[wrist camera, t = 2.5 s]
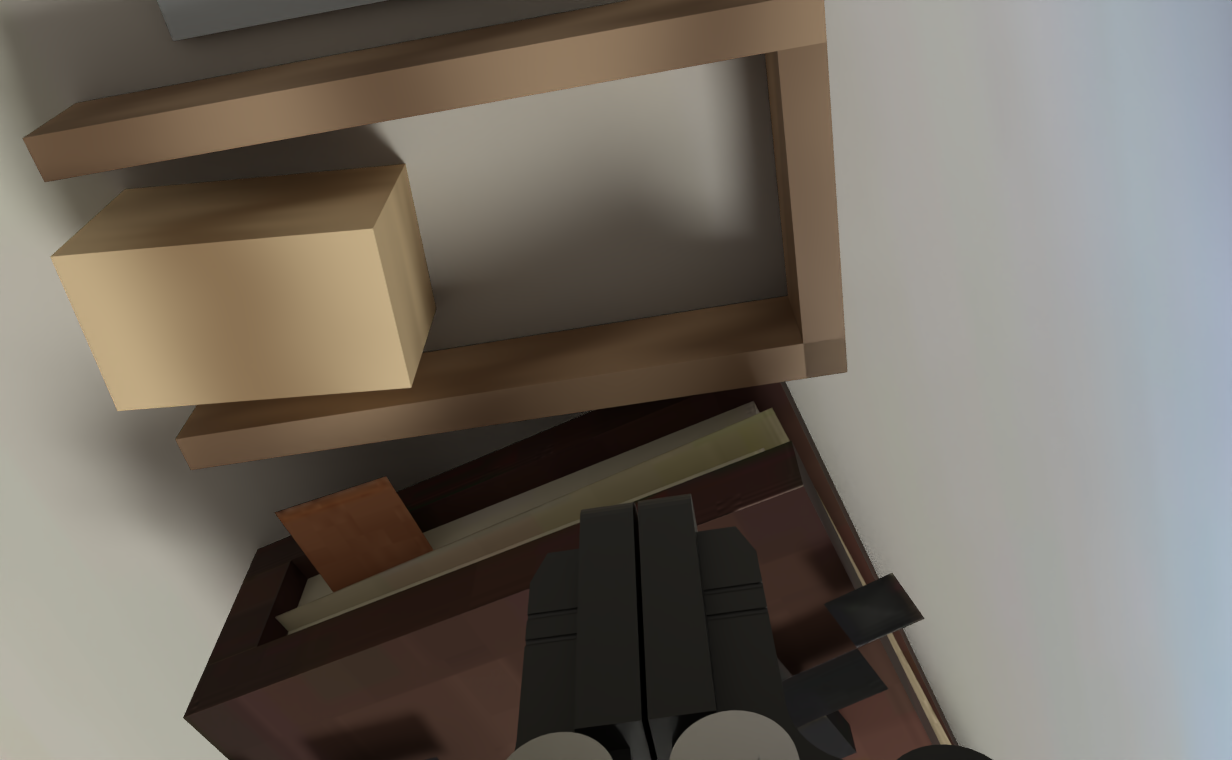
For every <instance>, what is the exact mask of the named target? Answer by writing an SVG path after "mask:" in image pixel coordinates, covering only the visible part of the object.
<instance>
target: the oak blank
mask: <svg viewBox="0 0 1232 760" xmlns="http://www.w3.org/2000/svg"><path fill="white" fill-rule="evenodd" d="M51 259H52V262H53V264H54V266H55V268H56V271H57V273H58V275H59V278H60V280H61V282H62V285H63V287H64V289H65V291H66V294H67V296H68V298H69V301H70V303H71V305H72V308H73V310H74V312H75V314H76V317H77V319H78V321H79V324H80V326H81V328H82V330H83V333H84V335H85V337H86V340H87V342H88V344H89V347H90V349H91V351H92V353H93V356H94V358H95V360H96V363H97V365H98V367H99V370H100V372H101V374H102V376H103V379H104V381H105V383H106V386H107V388H108V390H109V392H110V395H111V397H112V399H113V402H114V404H115V406H116V409H117V411H124V410H137V409H149V408H162V407H175V406H187V405H200V404H212V403H225V402H238V401H250V400H263V399H275V398H288V397H301V396H313V395H326V394H339V393H351V392H364V391H376V390H389V389H402V388H411V387H412V384H413V381H414V377H415V374H416V371H417V368H418V365H419V362H420V359H421V355H422V352H423V349H424V346H425V343H426V340H427V336H428V333H429V330H430V327H431V324H432V321H433V317H434V314H435V311H436V305H435V301H434V296H433V291H432V287H431V282H430V277H429V273H428V268H427V263H426V259H425V254H424V249H423V244H422V240H421V235H420V230H419V226H418V221H417V216H416V212H415V207H414V202H413V198H412V193H411V188H410V184H409V179H408V174H407V170H406V165H405V164H398V165H387V166H376V167H365V168H354V169H343V170H332V171H321V172H310V173H299V174H288V175H277V176H266V177H255V178H244V179H233V180H222V181H211V182H200V183H190V184H179V185H168V186H157V187H146V188H135V189H125V190H124V191H122V192H121V193H120V194H119V195H118V196H117V197H116V198H115V199H114V200H113V201H111V202H110V203H109V204H108V205H107V206H106V207H105V208H104V209H103V210H101V211H100V212H99V213H98V214H97V215H96V216H95V217H94V218H93V219H92V220H90V221H89V222H88V223H87V224H86V225H85V226H84V227H83V228H82V229H80V230H79V231H78V232H77V233H76V234H75V235H74V236H73V237H72V238H71V239H69V240H68V241H67V242H66V243H65V244H64V245H63V246H62V247H61V248H59V249H58V250H57V251H56V252H55V253H54V254H53V255H52V256H51Z"/></svg>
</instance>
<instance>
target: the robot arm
mask: <svg viewBox="0 0 1232 760" xmlns="http://www.w3.org/2000/svg"><path fill="white" fill-rule="evenodd" d="M527 615H528V620H527V624H526V635H525V642H526V646H525V647H524V659H523V670H522V682H521V694H520V706H519V717H518V729H517V740H516V746H515V751H514V752H513V753H512V754H511V755H510V756H509V757H508V758H507V759H506V760H843V759H840V758H837V757H835V756H832V755H829V754H827V753H826V752H824V751H822V750H820V749H818V748H817V747H815V746H814V745H813V744H811V743H810V742H809V741H808V740H807V739H806V738H805V737H804V736H803V735H802V734H801V733H800V732H799V731H798V729H797V728H796V727H795V725H794V724H793V722H792V720H791V718H790V716H789V713H788V710H787V706H786V701H785V696H784V691H783V686H782V681H781V676H780V670H779V665H778V660H777V655H776V650H775V644H774V639H773V634H772V629H771V624H770V619H769V613H768V609H767V603H766V598H765V593H764V588H763V583H762V577H761V572H760V567H759V562H758V557H757V551H756V550H755V549H754V547H753V546H752V545H751V544H750V543H749V542H748V540H747V539H746V538H745V537H744V536H743V535H742V533H741V532H740V531H739V530H738V529H737V527H736V526H733V527H726V528H719V529H712V530H705V531H698V530H697V524H696V519H695V513H694V507H693V502H692V497H691V494H684V495H677V496H670V497H663V498H656V499H650V500H643V501H638V513H637V509H636V505H635V503H634V502H631V503H624V504H617V505H610V506H603V507H596V508H589V509H582V510H581V513H580V535H579V549H573V550H566V551H559V552H552V553H547V555H546V557H545V558H544V560H543V562H542V563H541V565H540V567H539V568H538V570H537V572H536V573H535V575H534V577H533V579H532V580H531V582H530V588H529V600H528V612H527ZM897 760H992V759H990V758H989V757H987V756H985V755H984V754H982V753H979V752H977V751H974V750H972V749H969V748H965V747H961V746H956V745H947V744H940V745H929V746H923V747H920V748H917V749H914V750H911V751H909V752H908V753H906V754H904V755H902V756H901V757H900V758H898V759H897Z"/></svg>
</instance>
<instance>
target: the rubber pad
mask: <svg viewBox="0 0 1232 760" xmlns="http://www.w3.org/2000/svg"><path fill="white" fill-rule="evenodd" d="M381 1H387V0H157V3H158V5H159V7H160V10H161V12H162V15H163V17H164V20H165V22H166V25H167V27H168V30H169V32H170V35H171V37H172V40H173V41H177V40H182V39H187V38H192V37H198V36H203V35H208V34H213V33H219V32H224V31H229V30H234V29H240V28H245V27H250V26H255V25H261V24H266V23H271V22H276V21H282V20H287V19H292V18H297V17H303V16H308V15H313V14H318V13H324V12H329V11H334V10H339V9H345V8H350V7H355V6H360V5H366V4H371V3H376V2H381Z"/></svg>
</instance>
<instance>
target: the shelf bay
mask: <svg viewBox="0 0 1232 760" xmlns="http://www.w3.org/2000/svg"><path fill="white" fill-rule="evenodd" d="M763 53H765V61H766V72H767V82H768V93H769V103H770V114H771V124H772V135H773V145H774V156H775V166H776V177H777V187H778V197H779V208H780V218H781V229H782V239H783V250H784V260H785V271H786V281H787V292H788V296H782V297H776V298H770V299H763V300H757V301H750V302H744V303H738V304H731V305H725V306H719V307H712V308H706V309H699V310H693V311H687V312H680V313H674V314H668V315H661V316H655V317H649V318H642V319H636V320H629V321H623V322H617V323H610V324H604V325H598V326H591V327H585V328H578V329H572V330H566V331H559V332H553V333H547V334H540V335H534V336H527V337H521V338H515V339H508V340H502V341H496V342H489V343H483V344H476V345H470V346H464V347H457V348H451V349H445V350H438V351H432V352H425V353H422V355H421V359H420V362H419V365H418V368H417V371H416V374H415V377H414V381H413V384H412V387H411V388H402V389H389V390H376V391H364V392H351V393H339V394H326V395H313V396H301V397H288V398H275V399H263V400H250V401H238V402H225V403H212V404H200V405H197V406H196V407H195V409H194V410H193V412H192V414H191V415H190V417H189V418H188V420H187V422H186V423H185V425H184V426H183V428H182V429H181V431H180V433H179V434H178V436H177V437H176V439H175V440H176V442H177V444H178V446H179V448H180V450H181V452H182V454H183V456H184V458H185V460H186V462H187V464H188V466H189V467H190V469H191V470H195V469H201V468H208V467H215V466H222V465H228V464H235V463H242V462H248V461H255V460H262V459H268V458H275V457H282V456H289V455H295V454H302V453H309V452H315V451H322V450H329V449H336V448H342V447H349V446H356V445H362V444H369V443H376V442H382V441H389V440H396V439H403V438H409V437H416V436H423V435H429V434H436V433H443V432H449V431H456V430H463V429H470V428H476V427H483V426H490V425H496V424H503V423H510V422H516V421H523V420H530V419H537V418H543V417H550V416H557V415H563V414H570V413H577V412H583V411H590V410H597V409H604V408H610V407H617V406H624V405H630V404H637V403H644V402H650V401H657V400H664V399H671V398H677V397H684V396H691V395H697V394H704V393H711V392H717V391H724V390H731V389H738V388H744V387H751V386H758V385H764V384H771V383H778V382H784V381H791V380H798V379H805V378H811V377H818V376H825V375H831V374H838V373H845V372H847V359H846V343H845V327H844V311H843V295H842V279H841V263H840V247H839V231H838V215H837V199H836V183H835V167H834V151H833V135H832V119H831V103H830V87H829V71H828V55H827V39H826V23H825V7H824V0H627V1H622V2H616V3H611V4H606V5H600V6H595V7H590V8H584V9H579V10H573V11H568V12H563V13H557V14H552V15H547V16H541V17H536V18H531V19H525V20H520V21H514V22H509V23H504V24H498V25H493V26H488V27H482V28H477V29H471V30H466V31H461V32H455V33H450V34H445V35H439V36H434V37H429V38H423V39H418V40H412V41H407V42H402V43H396V44H391V45H386V46H380V47H375V48H369V49H364V50H359V51H353V52H348V53H343V54H337V55H332V56H327V57H321V58H316V59H310V60H305V61H300V62H294V63H289V64H284V65H278V66H273V67H267V68H262V69H257V70H251V71H246V72H241V73H235V74H230V75H225V76H219V77H214V78H208V79H203V80H198V81H192V82H187V83H182V84H176V85H171V86H165V87H160V88H155V89H149V90H144V91H139V92H133V93H128V94H123V95H117V96H112V97H106V98H101V99H96V100H90V101H85V102H80V103H75V104H74V105H72V106H71V107H69V108H68V109H66V110H65V111H63V112H62V113H60V114H59V115H57V116H56V117H54V118H53V119H51V120H49V121H48V122H46V123H45V124H43V125H42V126H40V127H39V128H37V129H36V130H34V131H33V132H31V133H30V134H28V135H27V136H25V137H24V138H23V140H24V142H25V144H26V146H27V148H28V150H29V152H30V154H31V156H32V158H33V160H34V162H35V164H36V166H37V168H38V170H39V172H40V174H41V176H42V178H43V180H44V182H49V181H54V180H60V179H66V178H71V177H77V176H82V175H88V174H93V173H99V172H105V171H110V170H116V169H121V168H127V167H133V166H138V165H144V164H149V163H155V162H160V161H166V160H172V159H177V158H183V157H188V156H194V155H200V154H205V153H211V152H216V151H222V150H227V149H233V148H239V147H244V146H250V145H255V144H261V143H266V142H272V141H278V140H283V139H289V138H294V137H300V136H306V135H311V134H317V133H322V132H328V131H333V130H339V129H345V128H350V127H356V126H361V125H367V124H373V123H378V122H384V121H389V120H395V119H400V118H406V117H412V116H417V115H423V114H428V113H434V112H439V111H445V110H451V109H456V108H462V107H467V106H473V105H479V104H484V103H490V102H495V101H501V100H506V99H512V98H518V97H523V96H529V95H534V94H540V93H545V92H551V91H557V90H562V89H568V88H573V87H579V86H585V85H590V84H596V83H601V82H607V81H612V80H618V79H624V78H629V77H635V76H640V75H646V74H652V73H657V72H663V71H668V70H674V69H679V68H685V67H691V66H696V65H702V64H707V63H713V62H718V61H724V60H730V59H735V58H741V57H746V56H752V55H758V54H763Z"/></svg>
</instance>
